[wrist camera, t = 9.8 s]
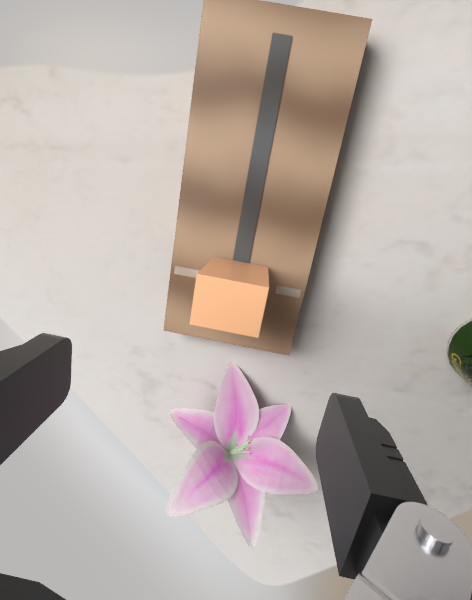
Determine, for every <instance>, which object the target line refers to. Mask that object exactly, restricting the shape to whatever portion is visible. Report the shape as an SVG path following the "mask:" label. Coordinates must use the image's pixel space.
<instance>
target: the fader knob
mask: <svg viewBox="0 0 472 600" xmlns="http://www.w3.org/2000/svg"><path fill="white" fill-rule="evenodd" d="M268 290H269V274H268V267H265V266H260V265H255V264H250V263H244V262H239V261H234V260H229V259H224V258H218V257H212V258H211V259H210V260H209V261H208V263H207V264H206V265H205V266H204V267H203V268H202V269H201V270H200V271H199V272H198V273H197V275H196V282H195V289H194V296H193V303H192V310H191V317H190V325H195V326H200V327H205V328H211V329H216V330H221V331H226V332H231V333H236V334H241V335H246V336H251V337H256V338H258V337H259V332H260V328H261V323H262V318H263V314H264V309H265V304H266V300H267V295H268Z"/></svg>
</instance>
